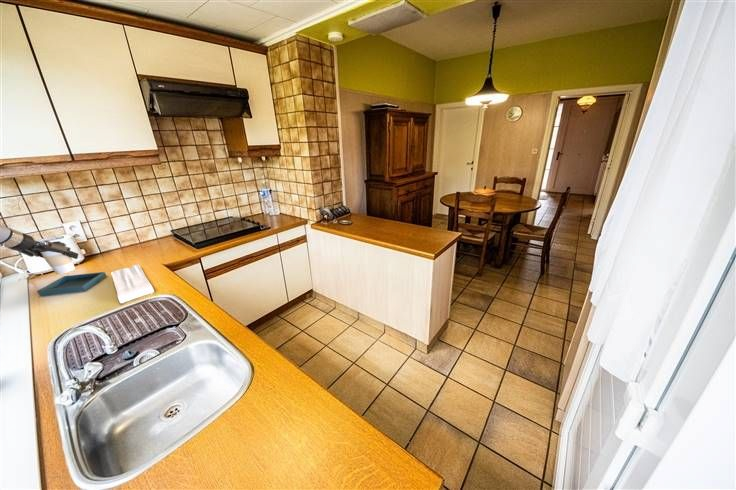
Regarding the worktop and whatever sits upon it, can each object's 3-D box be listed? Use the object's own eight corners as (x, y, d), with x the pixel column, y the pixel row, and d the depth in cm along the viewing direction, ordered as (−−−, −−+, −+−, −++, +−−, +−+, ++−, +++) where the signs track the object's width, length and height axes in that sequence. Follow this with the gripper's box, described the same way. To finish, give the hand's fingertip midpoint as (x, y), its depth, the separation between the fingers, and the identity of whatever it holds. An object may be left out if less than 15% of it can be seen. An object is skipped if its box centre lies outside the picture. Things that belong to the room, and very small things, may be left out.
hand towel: (138, 262, 150) (152, 287, 125) (141, 268, 152) (155, 293, 126) (109, 270, 142) (118, 299, 117) (112, 276, 144) (121, 306, 118)
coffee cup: (77, 264, 138) (63, 238, 132) (79, 269, 133) (64, 242, 127) (52, 271, 132) (35, 244, 126) (53, 277, 126) (36, 248, 120)
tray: (40, 296, 128) (36, 291, 127) (66, 281, 142) (63, 276, 140) (85, 291, 131) (82, 286, 130) (107, 276, 144) (104, 271, 143)
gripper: (-19, 251, 110) (39, 267, 130) (40, 245, 112) (88, 261, 133) (-13, 234, 112) (43, 252, 133) (46, 229, 115) (92, 248, 136)
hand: (66, 257), depth 133 cm, fingers closed on coffee cup, 9 cm apart
